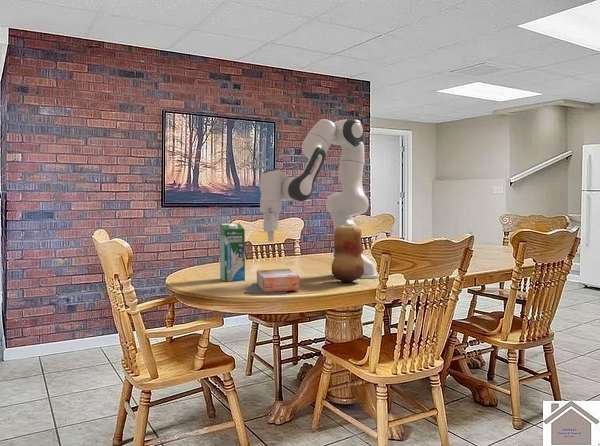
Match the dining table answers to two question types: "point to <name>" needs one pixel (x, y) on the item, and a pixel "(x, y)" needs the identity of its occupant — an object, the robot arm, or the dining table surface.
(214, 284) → the dining table surface
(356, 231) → the butternut squash
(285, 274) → the cracker box
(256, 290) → the mat
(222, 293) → the dining table surface
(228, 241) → the milk carton
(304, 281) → the dining table surface
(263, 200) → the robot arm
